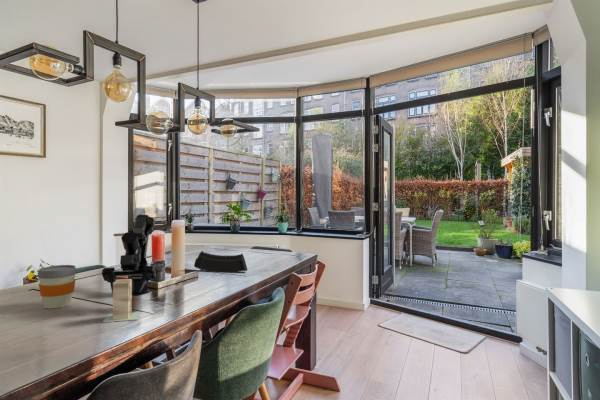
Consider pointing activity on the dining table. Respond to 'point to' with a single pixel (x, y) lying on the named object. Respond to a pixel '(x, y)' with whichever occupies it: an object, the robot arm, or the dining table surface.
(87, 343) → the dining table surface
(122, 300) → the maple block
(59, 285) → the reusable coffee cup
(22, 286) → the dining table surface
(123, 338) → the dining table surface
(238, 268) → the magazine
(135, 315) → the mat
